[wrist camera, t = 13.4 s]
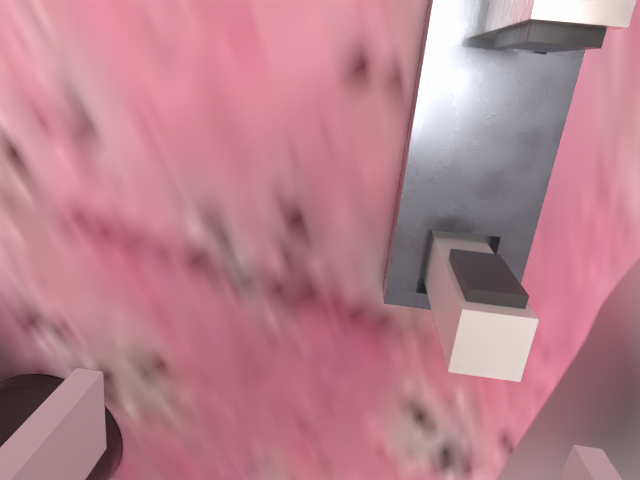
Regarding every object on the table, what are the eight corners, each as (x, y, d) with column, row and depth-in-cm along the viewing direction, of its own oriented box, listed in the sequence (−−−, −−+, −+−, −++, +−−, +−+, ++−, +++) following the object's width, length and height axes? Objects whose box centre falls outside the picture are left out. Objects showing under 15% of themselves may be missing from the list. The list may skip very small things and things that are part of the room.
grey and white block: (382, 287, 40) (390, 393, 27) (438, -64, 31) (491, -163, 18) (500, 302, 39) (566, 418, 26) (593, -51, 30) (765, -143, 17)
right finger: (471, 281, 38) (520, 381, 26) (422, 275, 38) (447, 371, 26) (484, 226, 36) (543, 306, 24) (432, 220, 36) (465, 295, 24)
